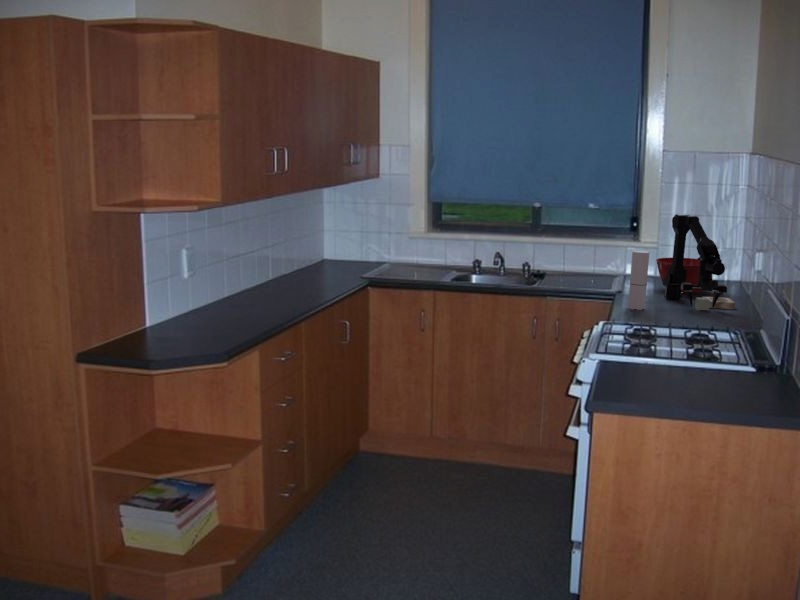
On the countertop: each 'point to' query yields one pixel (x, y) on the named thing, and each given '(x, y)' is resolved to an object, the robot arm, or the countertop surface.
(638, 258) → the white rectangular tower
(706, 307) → the gray cube
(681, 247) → the robot arm
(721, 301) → the birch base
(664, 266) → the mixing bowl
